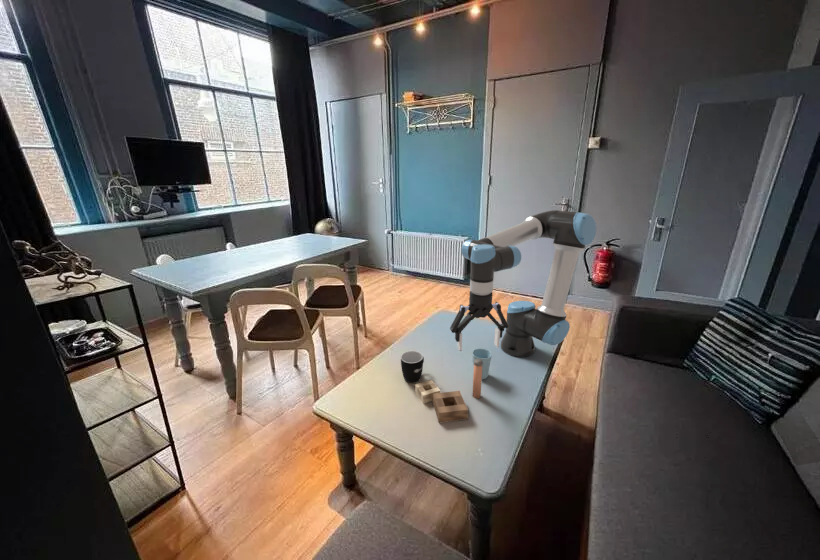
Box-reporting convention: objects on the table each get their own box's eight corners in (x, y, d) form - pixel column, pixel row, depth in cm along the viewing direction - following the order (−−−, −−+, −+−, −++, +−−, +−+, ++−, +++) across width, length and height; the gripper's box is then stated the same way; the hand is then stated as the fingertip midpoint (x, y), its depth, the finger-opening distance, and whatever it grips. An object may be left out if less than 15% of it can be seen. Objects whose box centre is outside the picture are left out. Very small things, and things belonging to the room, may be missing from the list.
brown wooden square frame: (459, 399, 120) (459, 390, 119) (467, 419, 111) (467, 409, 110) (432, 402, 119) (432, 393, 118) (438, 422, 110) (438, 413, 108)
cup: (469, 369, 138) (470, 348, 134) (487, 369, 138) (489, 348, 134) (473, 381, 131) (474, 358, 127) (492, 380, 130) (493, 358, 127)
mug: (414, 388, 127) (413, 365, 124) (396, 379, 133) (396, 358, 129) (431, 373, 136) (431, 352, 133) (414, 366, 141) (414, 345, 138)
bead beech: (431, 387, 127) (431, 379, 126) (440, 398, 121) (440, 390, 120) (415, 392, 125) (415, 384, 124) (423, 403, 119) (423, 395, 118)
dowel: (479, 392, 124) (480, 358, 119) (481, 398, 121) (483, 363, 116) (471, 393, 123) (472, 359, 118) (473, 399, 120) (475, 364, 116)
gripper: (511, 285, 114) (507, 338, 121) (441, 290, 111) (441, 345, 117) (521, 292, 107) (516, 349, 113) (447, 298, 104) (446, 356, 110)
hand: (478, 347), depth 115 cm, fingers open, 13 cm apart
